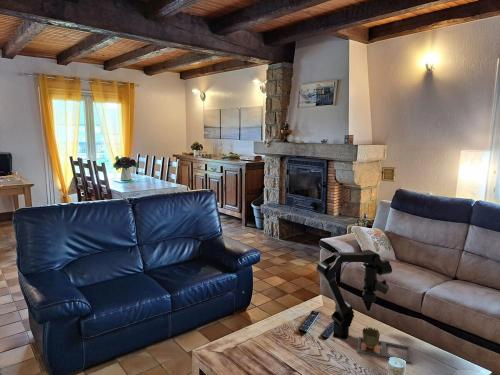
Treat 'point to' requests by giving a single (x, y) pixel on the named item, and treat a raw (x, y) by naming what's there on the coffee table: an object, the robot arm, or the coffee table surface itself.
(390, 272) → the robot arm
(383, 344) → the grey double frame
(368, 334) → the bronze ornate bell
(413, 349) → the coffee table surface
